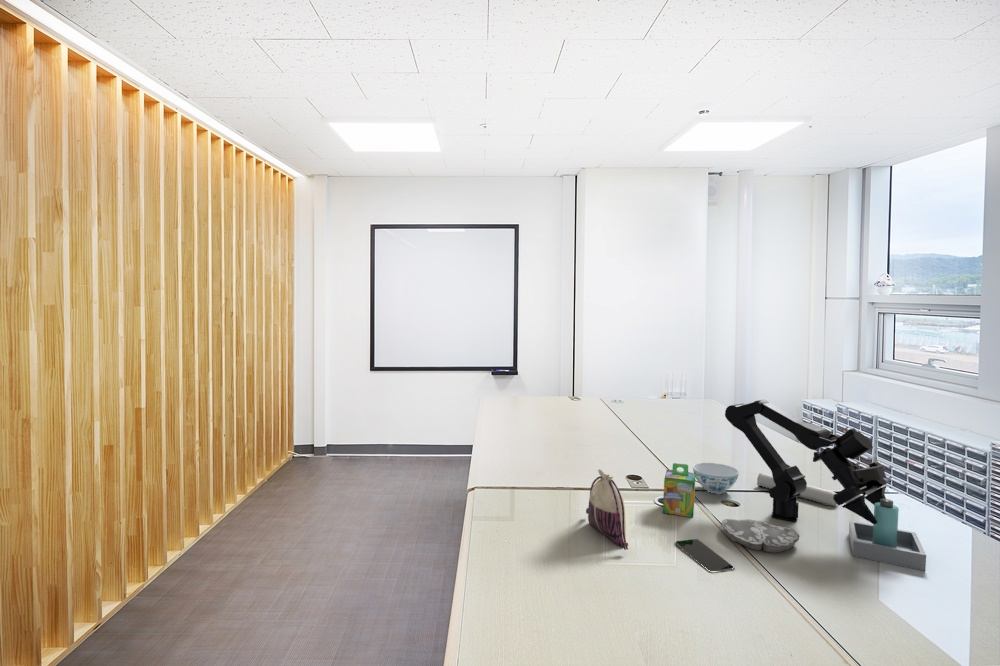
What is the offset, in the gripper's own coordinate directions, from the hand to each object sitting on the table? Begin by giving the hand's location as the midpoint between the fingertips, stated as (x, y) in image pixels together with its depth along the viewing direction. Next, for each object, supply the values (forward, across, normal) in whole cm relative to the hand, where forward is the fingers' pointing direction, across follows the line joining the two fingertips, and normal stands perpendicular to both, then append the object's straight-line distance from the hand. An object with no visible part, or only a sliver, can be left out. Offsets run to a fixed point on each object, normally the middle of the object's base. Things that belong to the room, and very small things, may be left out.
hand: (883, 519), depth 140 cm
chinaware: (-30, +2, +43) cm, 53 cm away
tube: (-17, +22, +30) cm, 41 cm away
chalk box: (-27, -24, +40) cm, 53 cm away
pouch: (-26, -56, +39) cm, 73 cm away
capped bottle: (+6, 0, +5) cm, 8 cm away
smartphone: (-10, -44, +23) cm, 50 cm away
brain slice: (-8, -23, +21) cm, 32 cm away
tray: (+6, 0, +6) cm, 9 cm away
